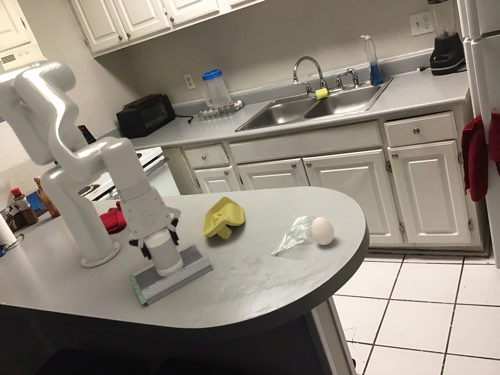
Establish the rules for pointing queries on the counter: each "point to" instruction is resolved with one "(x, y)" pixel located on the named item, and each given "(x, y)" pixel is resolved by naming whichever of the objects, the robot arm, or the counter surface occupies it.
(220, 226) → the plastic component
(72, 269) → the counter surface
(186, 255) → the rail cradle
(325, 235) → the egg
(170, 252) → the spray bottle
